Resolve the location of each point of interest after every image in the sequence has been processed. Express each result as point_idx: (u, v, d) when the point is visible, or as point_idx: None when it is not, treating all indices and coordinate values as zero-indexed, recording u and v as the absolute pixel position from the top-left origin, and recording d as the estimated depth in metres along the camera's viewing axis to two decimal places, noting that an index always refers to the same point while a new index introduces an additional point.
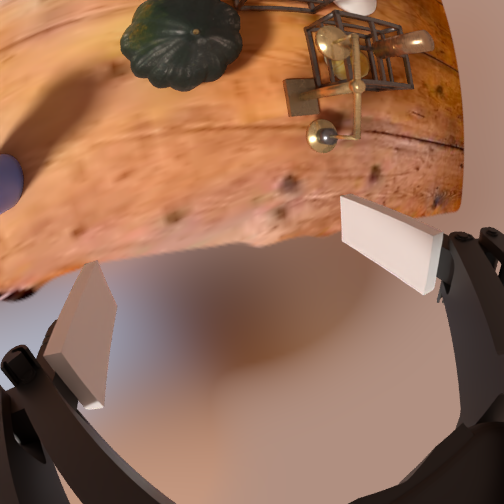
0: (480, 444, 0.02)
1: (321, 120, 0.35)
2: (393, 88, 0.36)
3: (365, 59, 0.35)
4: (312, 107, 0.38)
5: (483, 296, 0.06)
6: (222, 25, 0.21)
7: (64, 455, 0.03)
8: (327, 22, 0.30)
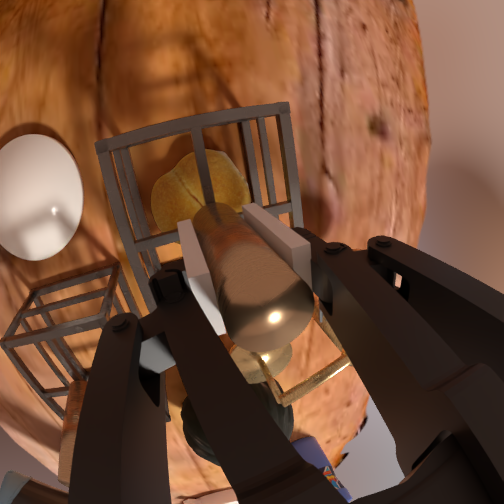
0: None
1: None
2: (263, 117, 0.19)
3: None
4: None
5: (381, 319, 0.06)
6: None
7: (197, 374, 0.05)
8: None
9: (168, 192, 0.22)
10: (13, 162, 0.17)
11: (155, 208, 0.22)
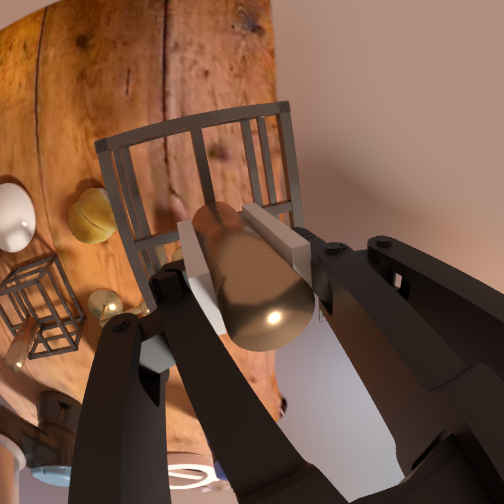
0: None
1: None
2: (263, 116, 0.19)
3: (88, 206, 0.35)
4: (157, 250, 0.44)
5: (381, 319, 0.06)
6: None
7: (197, 374, 0.05)
8: None
9: (73, 214, 0.35)
10: None
11: (68, 223, 0.36)
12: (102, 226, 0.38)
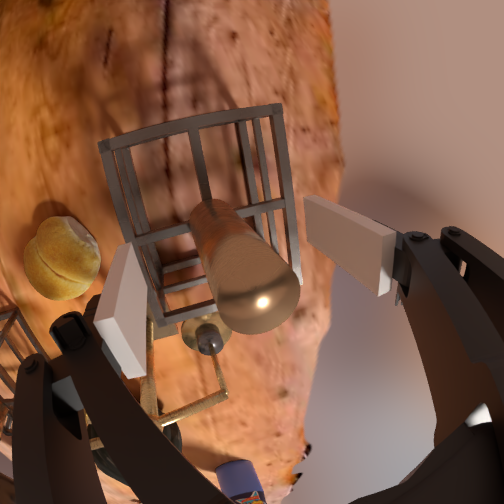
0: (480, 444, 0.02)
1: (184, 338, 0.26)
2: (258, 117, 0.20)
3: (46, 248, 0.20)
4: None
5: (448, 299, 0.06)
6: None
7: (107, 421, 0.04)
8: (157, 281, 0.23)
9: (28, 259, 0.20)
10: None
11: (25, 270, 0.21)
12: (72, 278, 0.22)
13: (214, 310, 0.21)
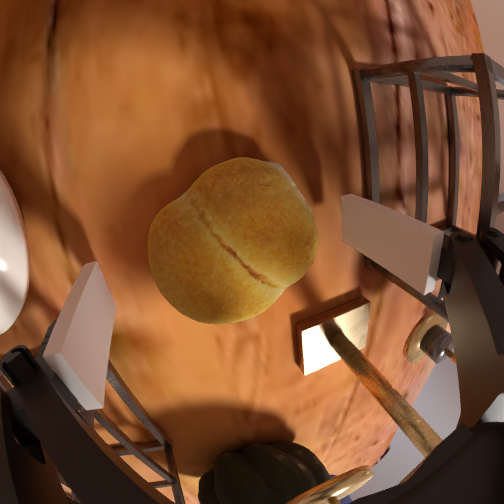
0: (480, 444, 0.02)
1: (410, 350, 0.17)
2: None
3: (251, 215, 0.12)
4: (357, 318, 0.20)
5: (483, 296, 0.06)
6: None
7: (64, 455, 0.03)
8: None
9: (181, 242, 0.12)
10: None
11: (157, 268, 0.12)
12: (279, 278, 0.14)
13: None
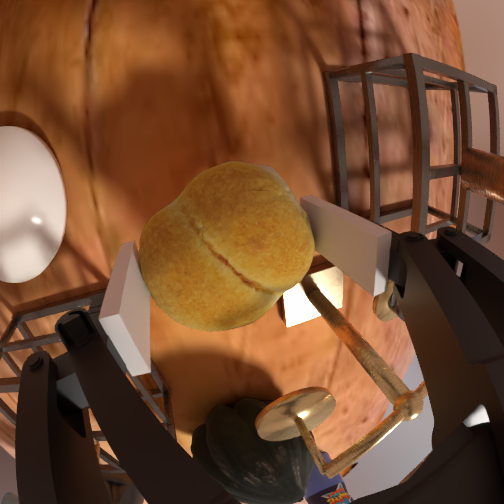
0: (480, 444, 0.02)
1: (378, 306, 0.22)
2: (458, 90, 0.16)
3: (241, 222, 0.11)
4: (332, 277, 0.24)
5: (444, 300, 0.06)
6: (284, 486, 0.19)
7: (112, 418, 0.04)
8: None
9: (171, 250, 0.11)
10: None
11: (148, 276, 0.12)
12: (274, 285, 0.14)
13: None
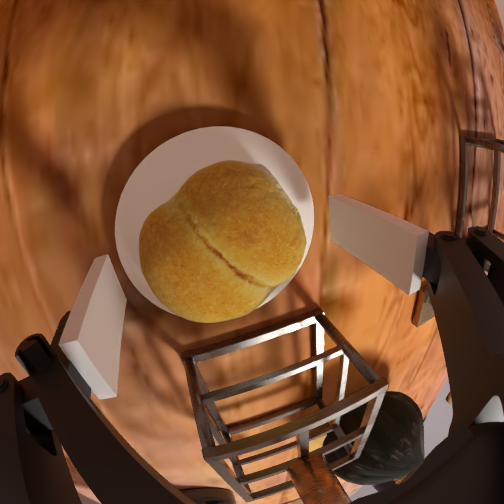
0: (480, 444, 0.02)
1: None
2: None
3: (234, 218, 0.12)
4: None
5: (472, 296, 0.06)
6: (416, 455, 0.22)
7: (77, 444, 0.04)
8: None
9: (168, 244, 0.12)
10: (197, 167, 0.14)
11: (147, 269, 0.13)
12: (267, 278, 0.14)
13: None
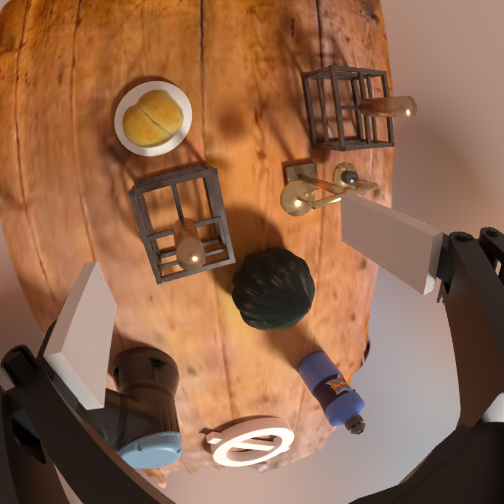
0: (480, 444, 0.02)
1: (335, 178, 0.45)
2: (370, 77, 0.39)
3: (151, 102, 0.32)
4: (311, 169, 0.48)
5: (483, 296, 0.06)
6: (296, 289, 0.42)
7: (64, 455, 0.03)
8: (327, 140, 0.42)
9: (131, 112, 0.32)
10: None
11: (124, 123, 0.33)
12: (164, 125, 0.35)
13: (364, 148, 0.40)
